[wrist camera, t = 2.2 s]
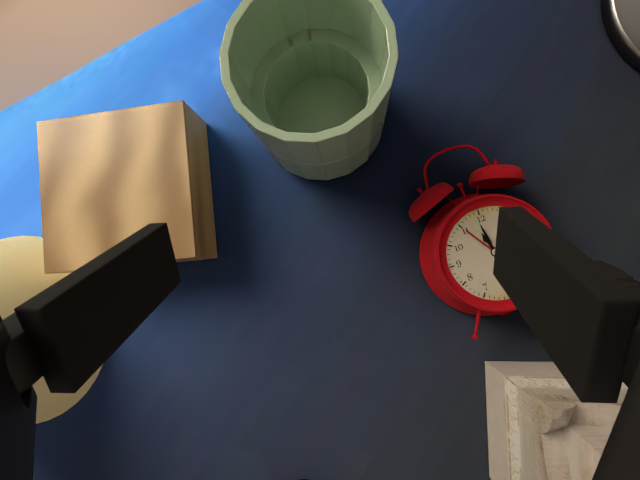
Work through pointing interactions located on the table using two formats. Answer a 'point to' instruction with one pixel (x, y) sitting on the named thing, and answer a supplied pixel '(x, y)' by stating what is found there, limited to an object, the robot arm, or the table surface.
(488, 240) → the alarm clock
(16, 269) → the cone light
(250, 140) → the table surface
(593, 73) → the table surface
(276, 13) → the plant pot
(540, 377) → the miniature monument
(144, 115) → the box stand
